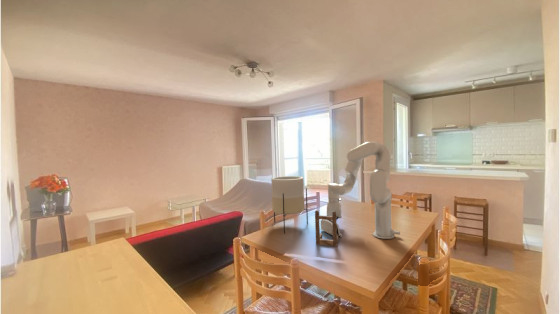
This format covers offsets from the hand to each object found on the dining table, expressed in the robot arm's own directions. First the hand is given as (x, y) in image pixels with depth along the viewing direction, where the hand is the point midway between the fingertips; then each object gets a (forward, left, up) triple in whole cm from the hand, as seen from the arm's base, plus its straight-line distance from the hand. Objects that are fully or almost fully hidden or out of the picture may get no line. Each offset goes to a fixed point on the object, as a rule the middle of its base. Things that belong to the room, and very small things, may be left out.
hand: (334, 225), depth 167 cm
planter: (+34, +9, -1) cm, 35 cm away
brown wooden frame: (0, +30, -1) cm, 30 cm away
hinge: (0, +15, -1) cm, 15 cm away
